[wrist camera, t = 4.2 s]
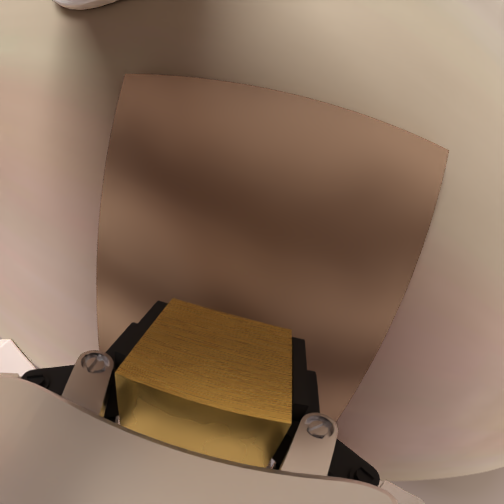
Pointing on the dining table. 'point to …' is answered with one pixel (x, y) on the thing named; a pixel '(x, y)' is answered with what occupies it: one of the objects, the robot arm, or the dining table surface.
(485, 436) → the dining table surface
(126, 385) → the yellow block headed rod
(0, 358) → the jar
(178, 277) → the copper board
